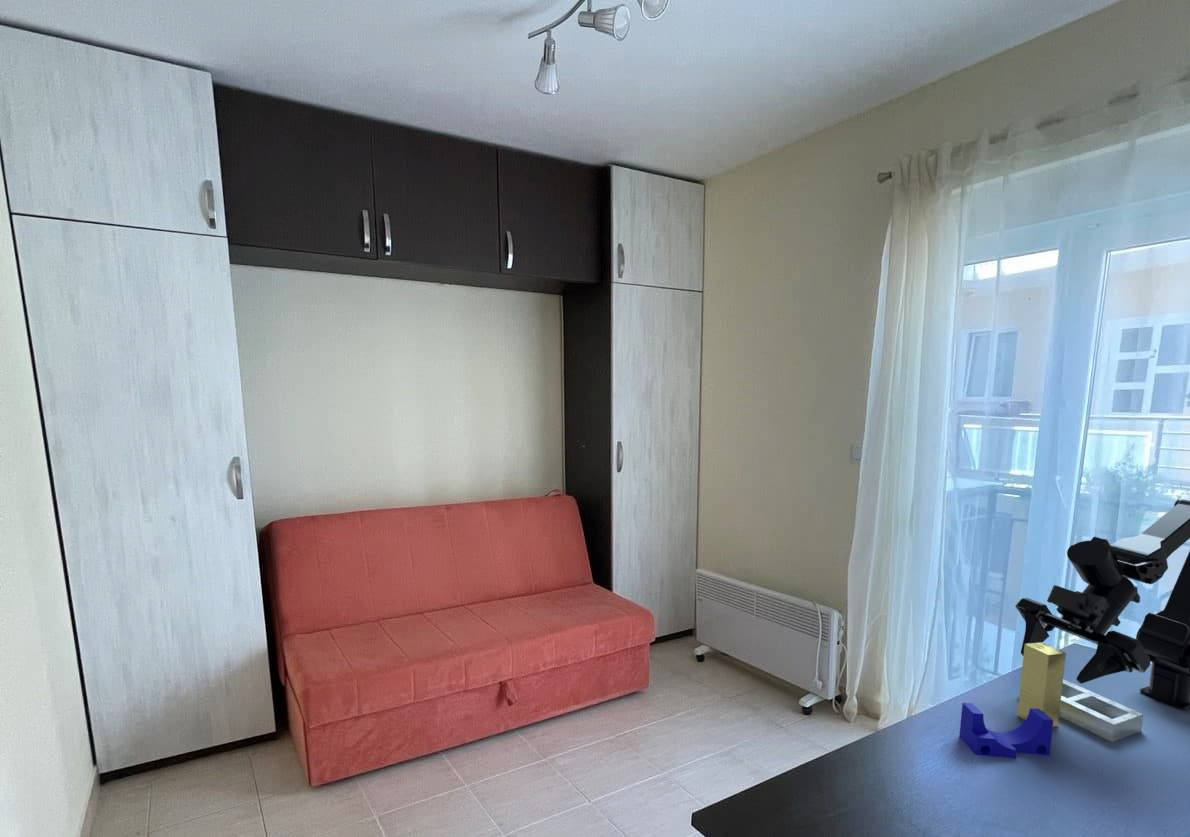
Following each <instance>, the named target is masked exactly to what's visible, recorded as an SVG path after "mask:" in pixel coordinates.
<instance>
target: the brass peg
mask: <svg viewBox="0 0 1190 837" xmlns="http://www.w3.org/2000/svg"><path fill="white" fill-rule="evenodd" d="M1022 656H1023V655H1022ZM1066 657H1067V653H1066V652H1064V651H1063V650H1060V649H1057V648H1056V647H1053V646H1052V645H1049V644H1046V643H1045V642H1039V643H1030V644H1025V646H1024V656H1023V657H1022V658H1023V659H1022V665H1021V666H1022V669H1021V679H1020V687H1019V696H1018V705H1017V707H1018V708H1017V716H1018V717H1019V718H1021V719H1023V720H1024V721H1025V720H1026V719H1027V717H1028V714H1029V711H1030V708H1034V709H1040V710H1042V711H1043V712H1044V713H1045V714H1047V715H1048V716H1049V717H1050V718H1051V719H1053V728H1055V727H1056V728H1057V727H1059V723H1060V722H1059V721H1060V716H1059V714H1060V704H1061V695H1062V685H1063V679H1064V676H1065V666H1066V665H1065V664H1066Z"/></svg>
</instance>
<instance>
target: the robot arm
mask: <svg viewBox="0 0 1190 837" xmlns="http://www.w3.org/2000/svg"><path fill="white" fill-rule="evenodd" d="M1189 540H1190V498H1189V497H1183V498H1181V497H1180V498H1177V500H1176V501H1175V503H1174V506H1173V507H1172V508H1170V510H1168V511H1167V512H1166V513H1165V514H1164V515H1162V516H1161V517H1160V518H1159V519H1157V520H1156V521H1155V522H1153V523H1152V524H1151V525H1150V526H1148V528H1147V529H1145V530H1144V531H1142V532H1141V533H1140V534H1138V535H1136V536H1129V537H1128V536H1127V537H1123V538H1120V539H1119V540H1117V541H1115V542H1114V543H1111V544H1110V542H1109V540H1108V539H1106V538H1102V537H1099V536H1093V537H1092V538H1091V539H1090V540H1083V541H1082V540H1081V541H1079V542H1076V543H1075V544H1072V545H1070V546H1069V547H1068V549H1067V550H1066V555H1067V558H1068V559H1069V561H1070V563H1071V564H1072V566H1073V568H1074V569H1075V570H1076V572H1077V574H1078V575H1079V577H1080V578H1081V580H1082V581H1083V582H1084V583H1086V584H1087V586H1086V587H1085V588H1084V590H1083V591H1082V592H1081V591H1078V590H1074V591H1073V590H1071V589H1069V588H1068V589H1067V588H1064V587H1062V586H1059V585H1053V586H1052V589H1051V590H1050V593H1049V594H1048V598H1047V600H1046V602H1048V603H1050V604H1054V605H1055V606H1057V608H1056V611H1057V612H1058V614H1060V615H1062V616H1061V617H1059V616H1056V615H1053V614H1052V612H1051V611H1050V609H1049V608H1048V606H1047V605H1046V604H1044V603H1042V602H1040V601H1037V600H1034V599H1031V598H1029V597H1023V598H1021V599H1020V600H1019V601H1018V602H1017V603H1016V604H1015V608H1016V610H1017V611H1018V612H1019V614H1020V615H1021V617H1022V619H1023V620H1024V622H1025V628H1024V629H1025V630H1024V635H1023V636H1024V637H1023V640H1022V643H1021V644H1022V645H1021V648H1020V655H1022V656H1024V646H1025V644H1030V643H1039V642H1042V643H1045V641H1046V640H1047V639H1048V638H1049V637H1050V634H1049V633H1048V632H1052V631H1053V630H1054V629H1055V628H1056V629H1057V630H1058V629H1059V630H1061V631H1063V632H1066V633H1068V634H1070V635H1073V636H1076V637H1078V638H1080V639H1083V640H1085V641H1087V642H1090V643H1093V644H1095V645H1097V646H1096V651H1095V652H1094V653H1095V654H1093V656H1092V657H1091V659H1089V660H1088V661H1087V663H1086V664H1085V665H1084V667H1082V669H1081V670H1080V672H1079V674H1078V675H1077V676H1076V678H1075V679H1076V681H1077V683H1078V684H1085V683H1088V682H1091V681H1093V680H1096V679H1098V678H1101V677H1106V676H1109V675H1112V674H1117V673H1121V672H1127V673H1132V672H1134V671H1136V672H1138V673H1145V672H1146V671H1147V670H1148V668H1151V669H1150V676H1149V678H1150V679H1149V685H1148V686H1145V687H1143V688H1140V689H1139V692H1140V691H1141V692H1140V693H1142V694H1144V693H1145V694H1144V695H1146V694H1147V695H1146V696H1149V697H1151V696H1152V698H1154V699H1157V700H1159V701H1161V702H1164V703H1166V704H1168V705H1171V706H1174V707H1176V708H1178V709H1180V708H1182V709H1181V710H1186V709H1185V708H1188V707H1190V550H1189V551H1188V554H1187V557H1186V558H1185V560H1184V563H1183V565H1182V568H1181V570H1180V571H1179V574H1178V576H1177V578H1176V581H1175V584H1174V586H1173V589H1172V590H1171V593H1170V595H1169V598H1168V599H1167V602H1166V604H1165V607H1164V609H1163V610H1161V611H1159V612H1157V613H1152V612H1149V613H1147V614H1146V615H1145V616H1144V619H1143V622H1142V624H1141V626H1140V627H1139V629H1138V631H1137V632H1136V634H1135V635H1136V636H1135V637H1132V636H1128V635H1126V634H1124V633H1121V632H1119V631H1116V630H1109V629H1110V628H1111V627H1112V626H1115V627H1119V625H1120V624H1121V620H1120V619H1119V617H1120V615H1121V614H1122V612H1123V611H1124V610H1125V609H1126V607H1127V606H1128V605H1129V604H1130V603H1131V602H1133V603H1136V604H1139V603H1140V602H1141V596H1140V595H1139V591H1138V587H1137V586H1136V585H1135V584H1134V583H1133V582H1132V581H1136V582H1140V583H1143V584H1147V585H1152V584H1155V583H1157V582H1158V581H1159V580H1161V579H1162V578H1163V576H1164V574H1165V573H1166V572H1167V571H1168V570H1169V564H1168V558H1169V557H1170V556H1171V555H1172V554H1173V553H1175V552H1176V551H1177V550H1178V549H1179V548H1180V547H1182V546H1183V544H1185V543H1186V542H1187V541H1189ZM1131 580H1132V581H1131ZM1150 665H1151V667H1150ZM1183 708H1184V709H1183ZM1188 709H1189V708H1188Z"/></svg>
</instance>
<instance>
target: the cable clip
mask: <svg viewBox="0 0 1190 837" xmlns="http://www.w3.org/2000/svg"><path fill="white" fill-rule="evenodd" d="M960 716H961V717H960V726H959V738H960V739H961V740H962V741H963V743H965V745H966V746H967V747H968V748H969V749H970V750H971V751H972V753H973V754H975V755H977V756H987V757H998V758H1007V757H1009V759H1010V758H1011V759H1016V758H1017V752H1018V754H1027V753H1028V754H1030V755H1041V756H1050V754H1051V746H1052V739H1053V738H1052V735H1053V728H1054V727H1053V719H1051V718H1050V717H1049V716H1048V715H1047V714H1045V713H1044V712H1043V711H1042V710H1040V709H1034V708H1030V711H1029V714H1028V717H1027V719H1026V720H1024V722H1022V723H1021V724H1020V725H1019V726H1018V727H1016V728H1015V729H1014V728H1013V729H1012V730H1009V731H1003V732H999V731H993V730H990V729H988V728H987V727H986V724H985V722H984V713H983V712H982V711H981V710H980V709H979V708H978V707H976V706H975V704H973V703H971V702H962V703H961V715H960Z"/></svg>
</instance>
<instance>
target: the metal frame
mask: <svg viewBox="0 0 1190 837" xmlns="http://www.w3.org/2000/svg"><path fill="white" fill-rule="evenodd" d="M1059 718H1062V719H1063V720H1066V721H1069V722H1070V723H1072V724H1074V725H1076V726H1078V727H1080V728H1083V729H1084V730H1087V731H1088V732H1090V733H1092V734H1095V735H1096V736H1098V737H1100V738H1103V739H1104V740H1107V741H1109V742H1111V743H1113V742H1116V741H1119V740H1121V739H1124V738H1126V737H1129V736H1132V735H1135V734H1138V733H1140V732H1142V728H1143V719H1144V714H1143V713H1141V712H1140V711H1136V710H1134V709H1132V708H1130V707H1127V706H1125V705H1123V704H1121V703H1118V702H1116V701H1114V700H1111V699H1109V698H1107V697H1105V696H1102V695H1100V694H1099V693H1095V692H1093V691H1091V690H1089V689H1086V688H1085V687H1082V686H1080V685H1077V684H1075V683H1073V682H1070V681H1069V680H1066V679H1064V678H1063V685H1062V695H1061V704H1060V714H1059Z"/></svg>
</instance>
